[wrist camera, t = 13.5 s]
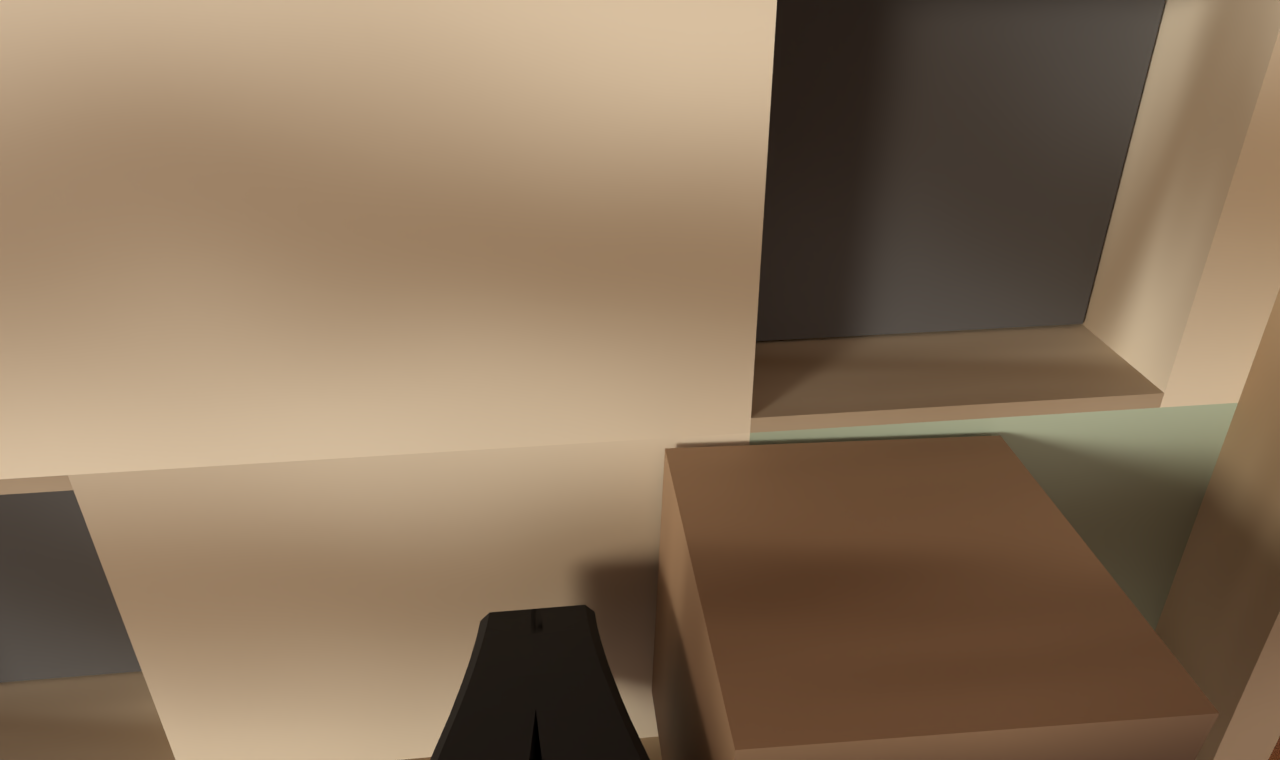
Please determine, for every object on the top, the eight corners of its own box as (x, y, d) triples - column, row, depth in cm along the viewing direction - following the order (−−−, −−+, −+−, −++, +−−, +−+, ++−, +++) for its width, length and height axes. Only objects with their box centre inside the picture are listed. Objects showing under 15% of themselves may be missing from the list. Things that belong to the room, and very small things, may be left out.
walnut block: (934, 671, 13) (1083, 973, 10) (651, 690, 12) (700, 1015, 9) (1000, 435, 11) (1219, 714, 7) (664, 448, 10) (735, 750, 7)
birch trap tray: (1097, 631, 16) (1238, 821, 13) (-349, 752, 14) (-606, 1012, 11) (1324, -68, 10) (1660, -38, 7) (-972, -35, 9) (-1841, 26, 5)
